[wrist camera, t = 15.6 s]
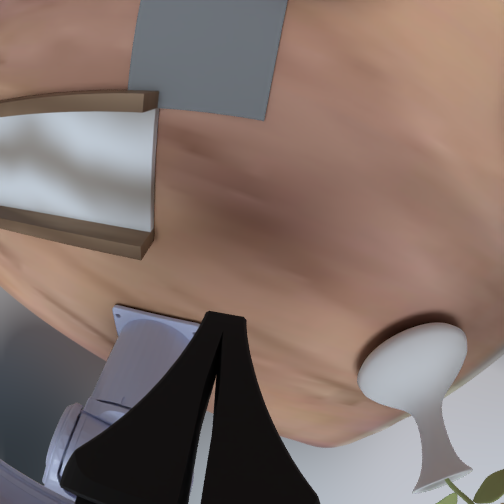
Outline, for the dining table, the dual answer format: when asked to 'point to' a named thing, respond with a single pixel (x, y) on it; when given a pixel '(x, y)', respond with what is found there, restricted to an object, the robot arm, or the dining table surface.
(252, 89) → the mat
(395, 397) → the flower in vase
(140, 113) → the lane
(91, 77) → the dining table surface
